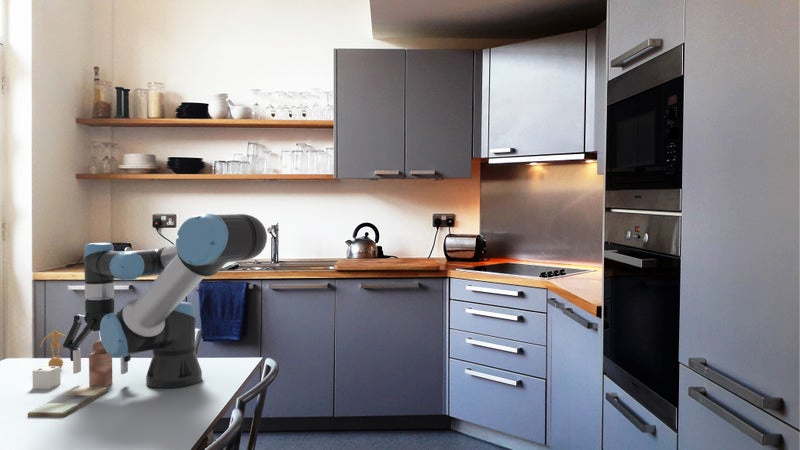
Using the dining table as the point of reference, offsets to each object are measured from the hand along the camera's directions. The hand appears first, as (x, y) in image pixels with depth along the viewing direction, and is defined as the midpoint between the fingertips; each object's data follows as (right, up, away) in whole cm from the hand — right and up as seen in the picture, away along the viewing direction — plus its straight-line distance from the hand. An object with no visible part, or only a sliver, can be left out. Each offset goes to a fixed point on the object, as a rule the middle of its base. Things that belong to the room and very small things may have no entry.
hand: (100, 372), depth 183 cm
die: (-14, -4, -1) cm, 15 cm away
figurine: (-22, -3, +17) cm, 28 cm away
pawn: (0, -3, 0) cm, 3 cm away
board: (0, -4, -17) cm, 18 cm away
